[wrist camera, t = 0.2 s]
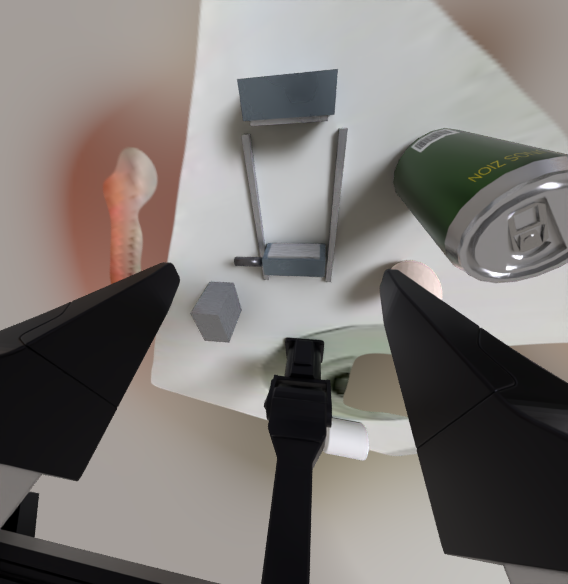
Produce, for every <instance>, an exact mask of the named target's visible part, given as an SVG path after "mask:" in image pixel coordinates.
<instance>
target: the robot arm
mask: <svg viewBox="0 0 568 584" xmlns="http://www.w3.org/2000/svg"><path fill="white" fill-rule="evenodd" d="M179 283H180V277H179V275H178V273H177V271H176V269H175V267H174V265H173V264H172V263H164V262H163V263H160V264H158V265H155V266H153V267H150V268H148V269H146V270H143V271H141V272H139V273H136V274H134V275H132V276H130V277H127V278H125V279H123V280H120V281H118V282H116V283H113V284H111V285H109V286H106V287H105V288H102V289H100V290H97V291H95V292H93V293H90V294H88V295H86V296H83V297H81V298H79V299H77V300H74V301H72V302H69V303H67V304H65V305H63V306H60V307H58V308H55V309H53V310H51V311H48V312H46V313H43V314H41V315H39V316H36V317H34V318H31V319H29V320H26V321H24V322H21V323H19V324H16V325H13V326H11V327H8V328H6V329H3V330H1V331H0V584H219V583H215V582H210V581H207V580H203V579H199V578H195V577H191V576H186V575H183V574H178V573H174V572H170V571H166V570H162V569H158V568H154V567H150V566H146V565H142V564H138V563H134V562H130V561H126V560H122V559H118V558H114V557H110V556H106V555H102V554H98V553H93V552H90V551H86V550H82V549H78V548H74V547H70V546H66V545H62V544H58V543H53V542H50V541H46V540H42V539H38V538H34V537H35V528H36V518H37V508H38V499H39V493H35V492H30V490H31V488H32V487H33V486H34V484H35V483H36V482H37V480H38V479H39V478H40V476H41V475H42V474H43V475H48V476H53V477H58V478H63V479H68V480H73V481H78V480H79V479H80V477H81V476H82V474H83V472H84V470H85V469H86V467H87V465H88V463H89V461H90V459H91V457H92V455H93V454H94V452H95V450H96V448H97V446H98V444H99V442H100V440H101V438H102V436H103V434H104V433H105V431H106V429H107V427H108V425H109V423H110V421H111V419H112V417H113V416H114V414H115V411H116V410H117V407H118V406H119V404H120V402H121V400H122V398H123V396H124V394H125V392H126V390H127V389H128V387H129V385H130V383H131V381H132V379H133V377H134V375H135V373H136V372H137V370H138V368H139V366H140V364H141V362H142V360H143V358H144V356H145V354H146V353H147V351H148V349H149V347H150V345H151V343H152V341H153V339H154V337H155V336H156V334H157V332H158V330H159V328H160V326H161V324H162V322H163V320H164V318H165V317H166V315H167V313H168V311H169V308H170V306H171V303H172V301H173V298H174V296H175V293H176V291H177V288H178V286H179ZM380 297H381V305H382V314H383V321H384V326H385V331H386V334H387V338H388V342H389V346H390V350H391V354H392V357H393V361H394V365H395V368H396V373H397V376H398V380H399V384H400V388H401V392H402V396H403V399H404V403H405V407H406V411H407V415H408V418H409V422H410V426H411V430H412V434H413V438H414V441H415V445H416V448H417V453H418V457H419V461H420V465H421V469H422V472H423V476H424V480H425V484H426V488H427V491H428V495H429V499H430V503H431V507H432V511H433V515H434V518H435V522H436V526H437V530H438V533H439V537H440V541H441V545H442V548H443V551H444V553H445V554H447V555H452V556H457V557H463V558H468V559H473V560H478V561H483V562H488V563H493V564H498V565H503V566H504V568H505V571H506V574H507V576H508V579H509V581H510V584H568V383H567V382H565V381H564V380H562V379H560V378H559V377H557V376H555V375H554V374H552V373H550V372H549V371H547V370H546V369H544V368H542V367H541V366H539V365H537V364H536V363H534V362H533V361H531V360H529V359H528V358H526V357H525V356H523V355H521V354H520V353H518V352H517V351H515V350H513V349H512V348H510V347H509V346H508V345H506V344H505V343H503V342H502V341H500V340H499V339H497V338H496V337H494V336H493V335H491V334H490V333H488V332H487V331H485V330H484V329H483V328H479V326H478V325H477V324H475V323H474V322H472V321H471V320H470V319H468V318H467V317H465V316H464V315H462V314H461V313H459V312H458V311H457V310H455V309H454V308H452V307H451V306H449V305H448V304H447V303H445V302H444V301H442V300H441V299H439V298H438V297H436V296H435V295H434V294H432V293H431V292H429V291H428V290H426V289H425V288H423V287H422V286H421V285H419V284H418V283H416V282H415V281H413V280H412V279H411V278H409V277H408V276H406V275H405V274H403V273H402V272H400V271H399V270H396V269H387V270H386V271H385V272H384V275H383V279H382V282H381V285H380ZM285 346H286V356H287V363H286V370H285V376H278V375H274V378H273V379H272V380H271V386H270V390H269V393H268V395H267V398H266V400H265V403H264V408H265V409H266V416H267V420H269V423H268V430H269V433H270V436H271V440H272V443H273V446H274V449H275V452H276V455H277V464H276V472H275V480H274V488H273V496H272V504H271V511H270V519H269V527H268V535H267V542H266V550H265V558H264V566H263V574H262V581H261V584H309V576H310V540H311V539H310V538H311V503H312V470H313V467H314V466H315V464H316V462H317V460H318V458H319V456H320V454H321V452H322V451H323V449H324V447H325V441H326V435H327V427H328V428H331V426H332V401H331V386H330V380H321V363H322V360H323V351H324V341H321V340H308V339H294V338H286V339H285Z"/></svg>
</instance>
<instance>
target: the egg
mask: <svg viewBox="0 0 568 584" xmlns="http://www.w3.org/2000/svg"><path fill="white" fill-rule="evenodd" d="M391 269H396V270H399V271H400V272H402V273H403V274H405V275H406V276H408V277H409V278H411V279H412V280H413V281H415V282H416V283H418V284H419V285H421V286H422V287H423V288H425V289H426V290H428V291H429V292H431V293H432V294H434V295H435V296H436V297H438V298H439V299H441V300H442V287H441V283H440V281H439V279H438V277H437V276H436V274H435V273H434V271H433V270H432V269H431V268H429V267H428V266H427V265H425V264H423V263H421V262H418V261H413V260H406V261H402V262H399V263H398V264H396V265H394V266H393V267H392V268H391Z"/></svg>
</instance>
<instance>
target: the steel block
mask: <svg viewBox="0 0 568 584" xmlns="http://www.w3.org/2000/svg"><path fill="white" fill-rule="evenodd" d="M241 311H242V310H241V306H240V303H239V299H238V295H237V292H236V288H235V285H234V283H230V282H209V284H208V286H207V287H206V289H205V291H204V292H203V294H202V295H201V297H200V299H199V300H198V302H197V303H196V305H195V307H194V308H193V310H192V312H191V315H192V317H193V319H194V321H195V323H196V325H197V327H198V329H199V331H200V332H201V334H202V336H203V338H204V340H205V341H216V342H228V343H229V342H230V339H231V336H232V334H233V331H234V329H235V326H236V323H237V321H238V318H239V316H240V313H241Z"/></svg>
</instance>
